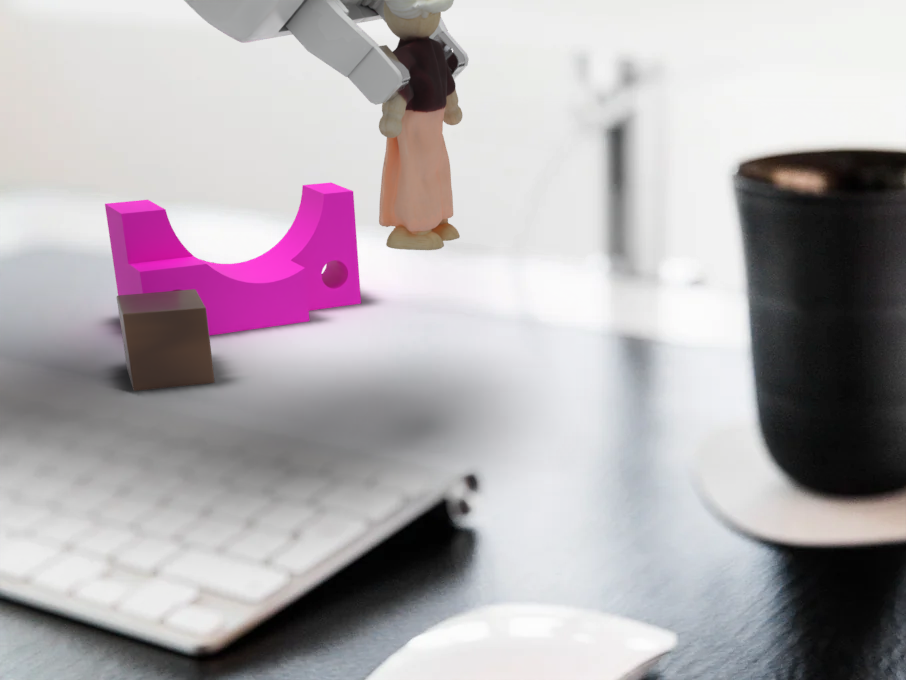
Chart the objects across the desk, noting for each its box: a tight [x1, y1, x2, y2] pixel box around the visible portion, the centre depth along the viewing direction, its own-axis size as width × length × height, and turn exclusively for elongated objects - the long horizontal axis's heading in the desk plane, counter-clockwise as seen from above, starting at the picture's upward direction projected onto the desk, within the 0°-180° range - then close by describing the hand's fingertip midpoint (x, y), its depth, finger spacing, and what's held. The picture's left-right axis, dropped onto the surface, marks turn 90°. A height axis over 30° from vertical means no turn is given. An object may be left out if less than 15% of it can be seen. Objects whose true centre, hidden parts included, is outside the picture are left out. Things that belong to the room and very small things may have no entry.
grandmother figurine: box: [378, 0, 463, 251], centre depth 66 cm, size 8×4×13 cm, turn 174°
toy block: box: [104, 182, 362, 337], centre depth 91 cm, size 15×6×8 cm, turn 122°
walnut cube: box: [116, 289, 216, 392], centre depth 80 cm, size 4×4×4 cm
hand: (427, 83), depth 65 cm, fingers closed on grandmother figurine, 7 cm apart
